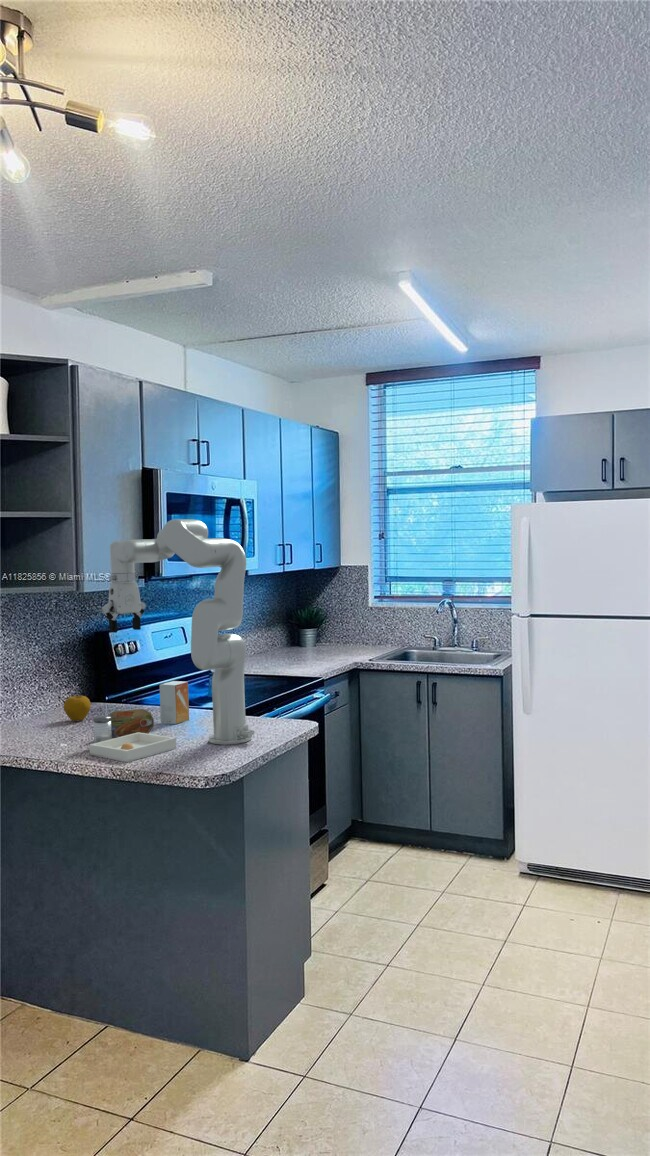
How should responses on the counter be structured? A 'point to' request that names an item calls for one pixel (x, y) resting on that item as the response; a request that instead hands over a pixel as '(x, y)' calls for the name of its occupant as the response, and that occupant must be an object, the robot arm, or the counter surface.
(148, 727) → the tin
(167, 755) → the counter surface
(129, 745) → the ball
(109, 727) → the shaker
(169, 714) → the small box
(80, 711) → the apple
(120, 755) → the tray
